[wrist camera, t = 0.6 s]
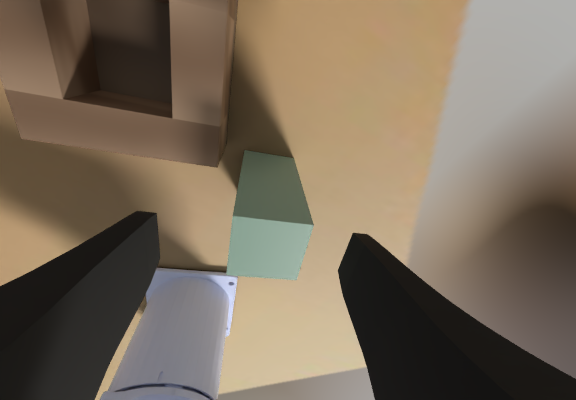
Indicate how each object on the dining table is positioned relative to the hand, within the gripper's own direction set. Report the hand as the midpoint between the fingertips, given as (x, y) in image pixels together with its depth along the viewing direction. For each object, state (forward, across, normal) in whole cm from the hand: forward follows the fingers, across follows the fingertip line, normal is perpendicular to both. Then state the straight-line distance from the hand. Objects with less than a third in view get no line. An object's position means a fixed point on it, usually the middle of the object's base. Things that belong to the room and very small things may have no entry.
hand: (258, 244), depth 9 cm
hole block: (+9, +7, -5) cm, 13 cm away
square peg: (+9, -1, +2) cm, 10 cm away
